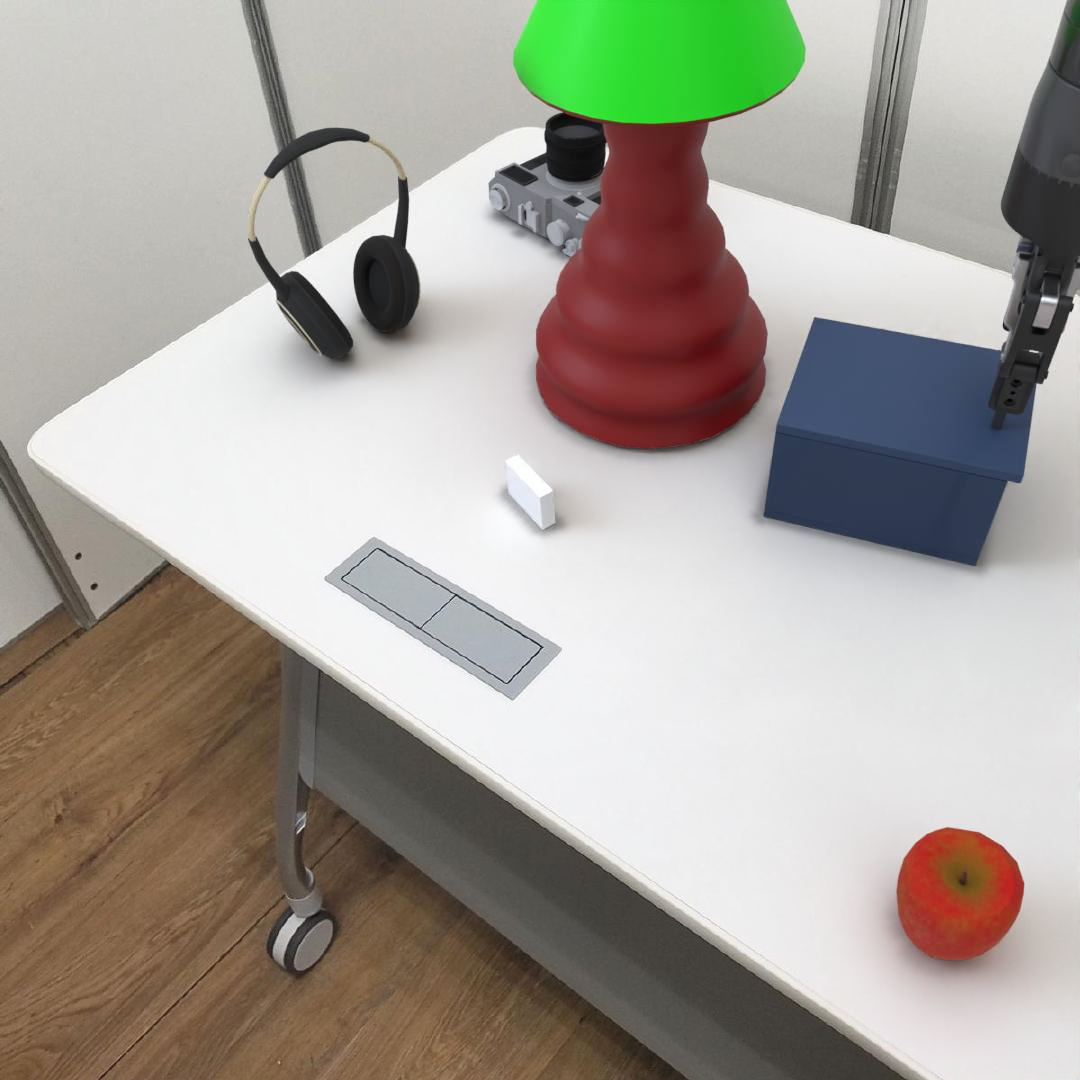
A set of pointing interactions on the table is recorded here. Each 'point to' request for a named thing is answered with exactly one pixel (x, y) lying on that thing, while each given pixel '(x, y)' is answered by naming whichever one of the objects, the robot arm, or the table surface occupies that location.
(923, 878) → the apple
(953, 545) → the box
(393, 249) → the headphones
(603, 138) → the camera
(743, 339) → the table lamp
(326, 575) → the table surface
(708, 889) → the table surface
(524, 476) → the eraser
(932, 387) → the lid
